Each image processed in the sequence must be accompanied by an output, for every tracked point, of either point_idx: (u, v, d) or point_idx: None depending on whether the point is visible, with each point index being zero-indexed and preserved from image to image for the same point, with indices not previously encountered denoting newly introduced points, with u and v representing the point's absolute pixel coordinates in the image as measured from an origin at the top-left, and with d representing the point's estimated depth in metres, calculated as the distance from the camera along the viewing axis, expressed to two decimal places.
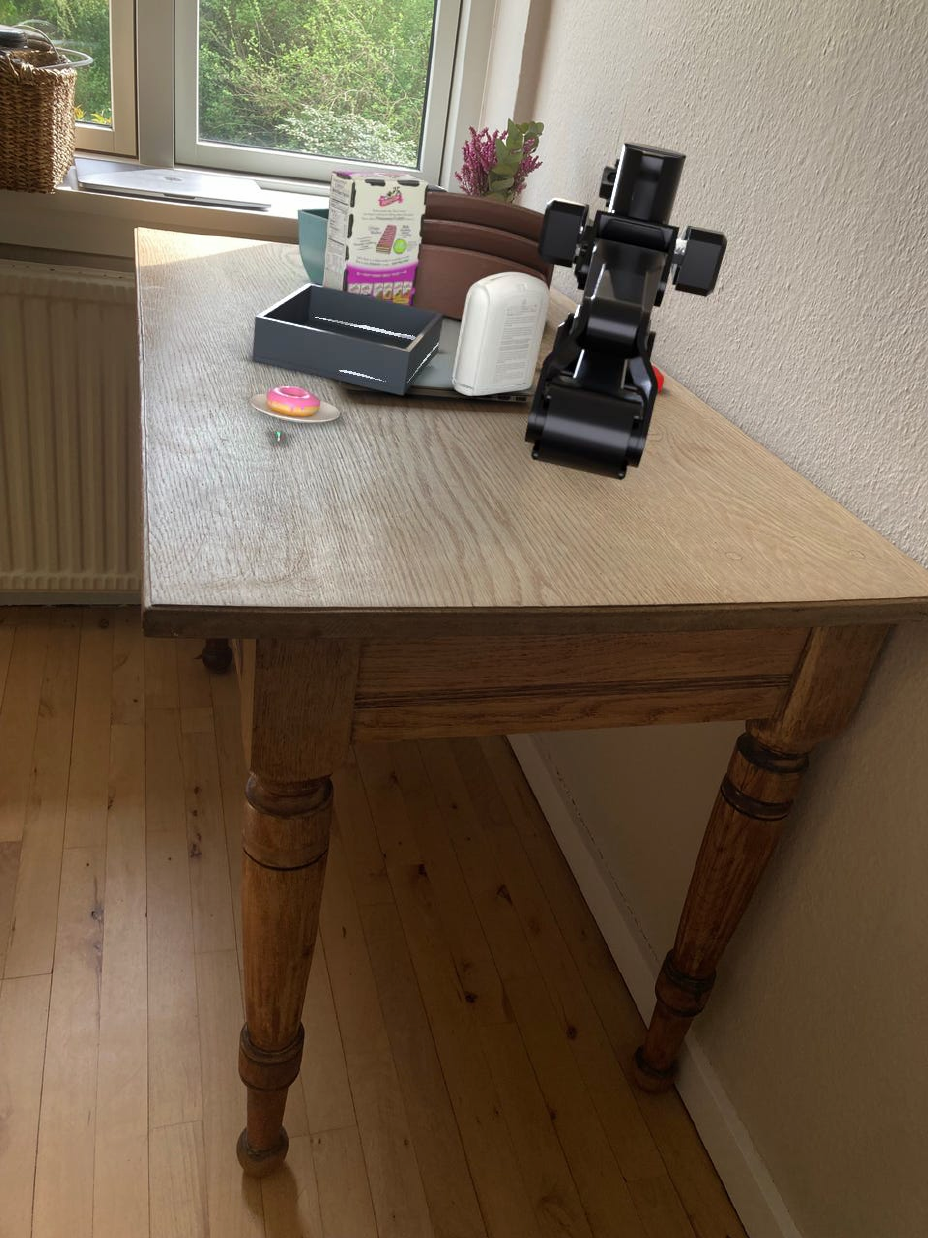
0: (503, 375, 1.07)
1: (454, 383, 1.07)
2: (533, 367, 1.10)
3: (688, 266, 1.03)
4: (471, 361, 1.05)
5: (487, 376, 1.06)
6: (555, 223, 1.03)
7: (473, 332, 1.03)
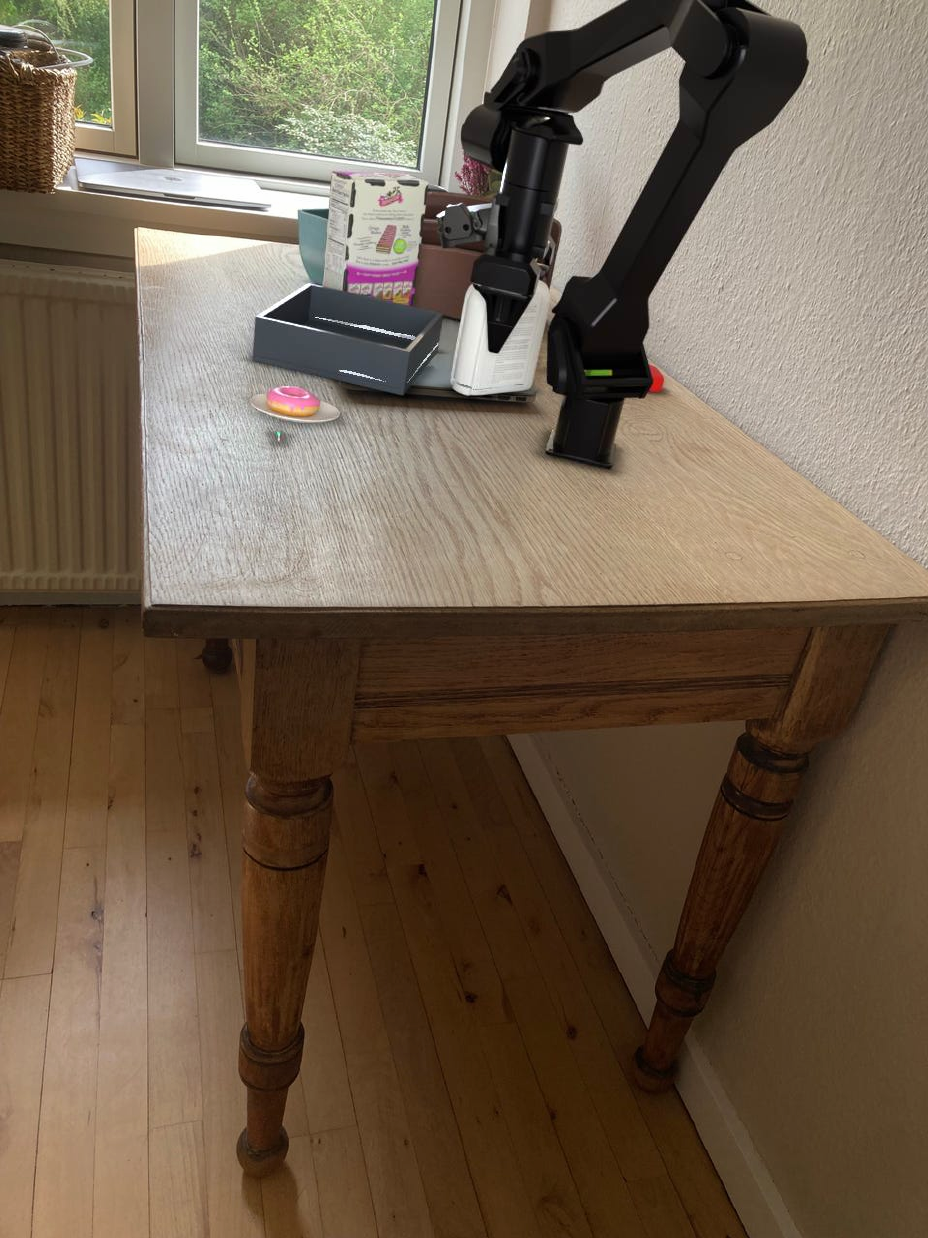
0: (502, 376, 1.07)
1: (453, 382, 1.07)
2: (533, 368, 1.10)
3: None
4: (468, 361, 1.05)
5: (484, 376, 1.06)
6: (497, 254, 0.96)
7: (471, 332, 1.03)
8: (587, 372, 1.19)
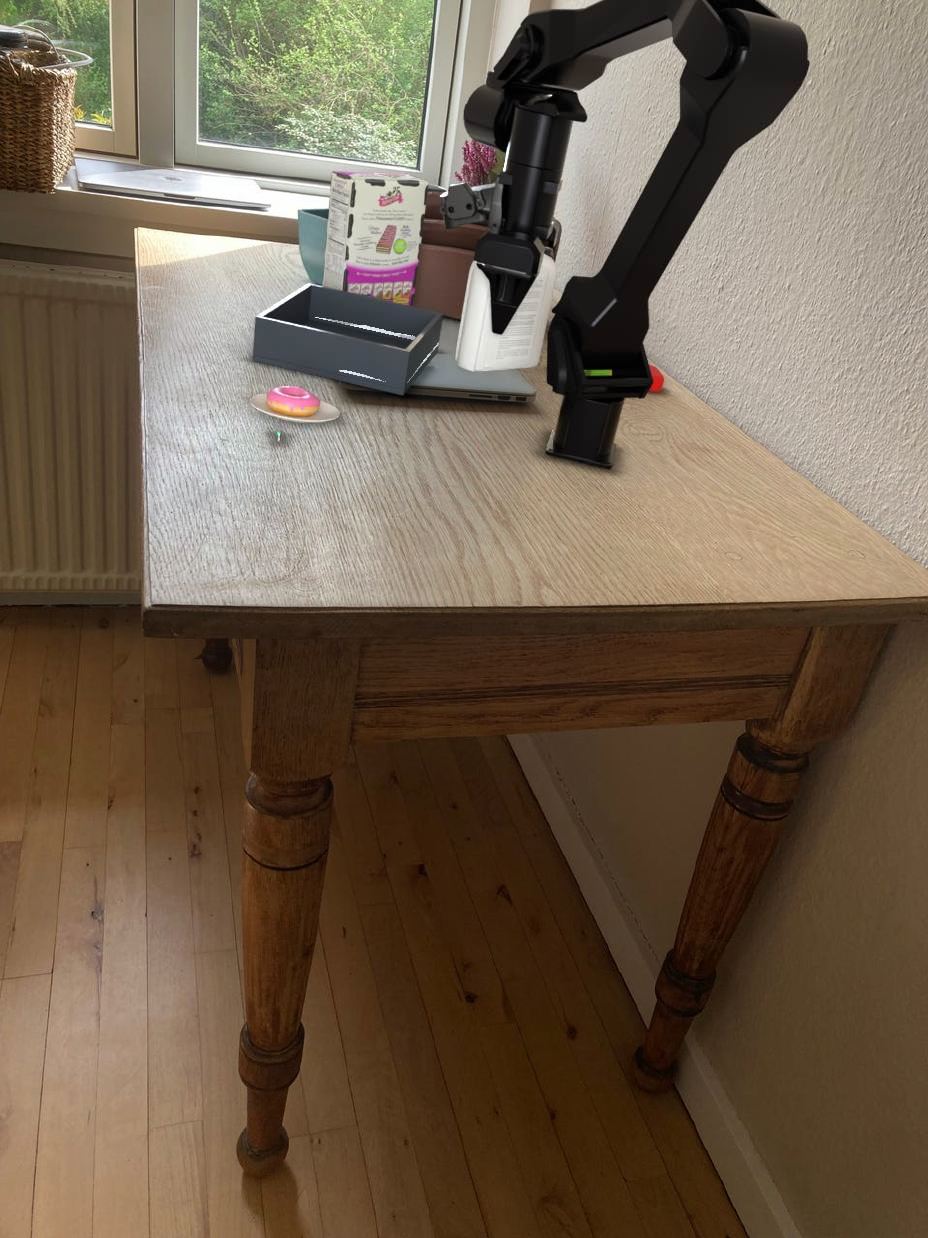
0: (507, 352, 1.06)
1: (457, 358, 1.06)
2: (539, 344, 1.09)
3: None
4: (473, 336, 1.03)
5: (489, 352, 1.04)
6: (501, 233, 0.95)
7: (476, 306, 1.02)
8: (587, 372, 1.19)
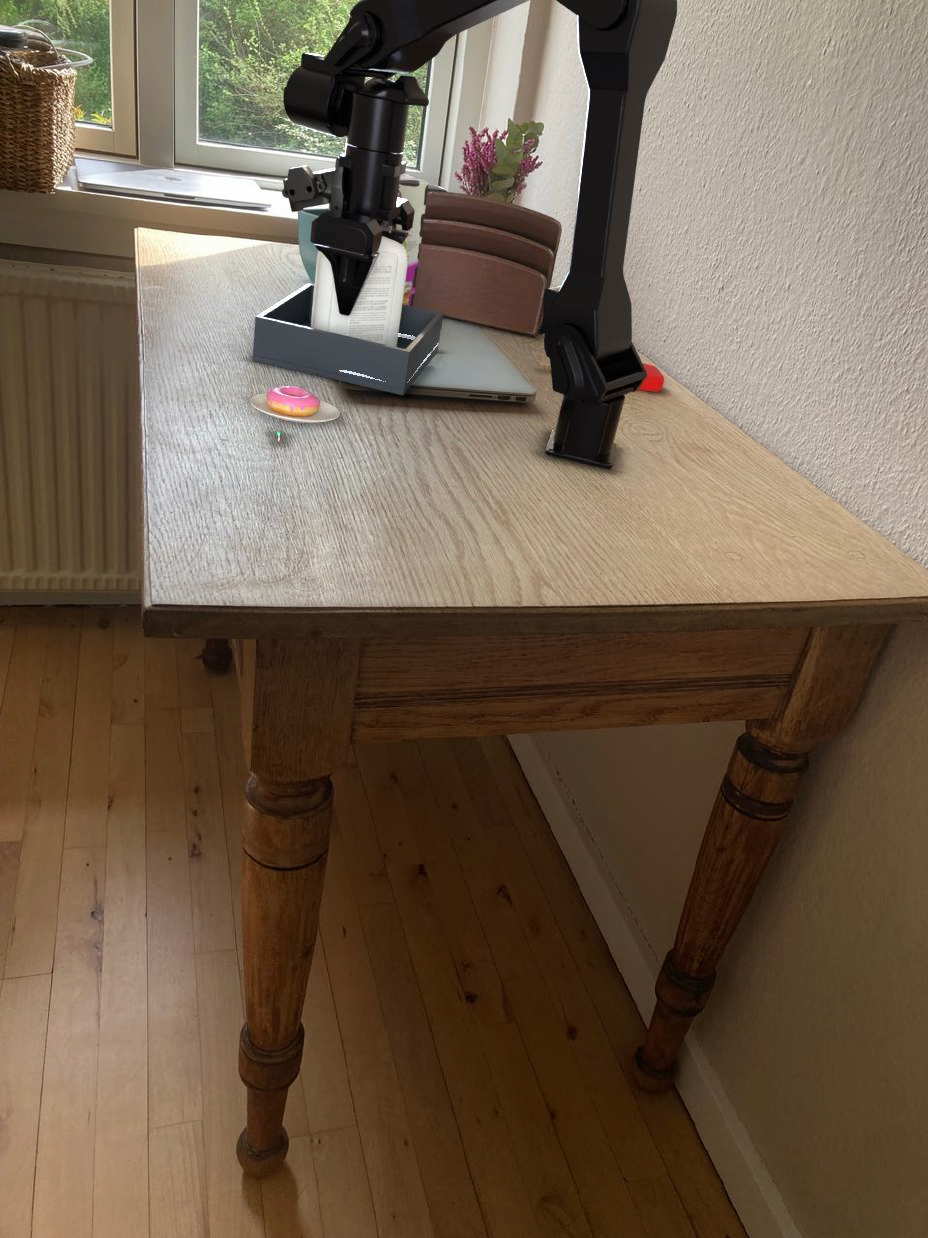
0: (359, 337, 1.08)
1: None
2: (395, 330, 1.11)
3: None
4: (322, 321, 1.06)
5: None
6: (335, 214, 0.97)
7: (323, 291, 1.04)
8: None
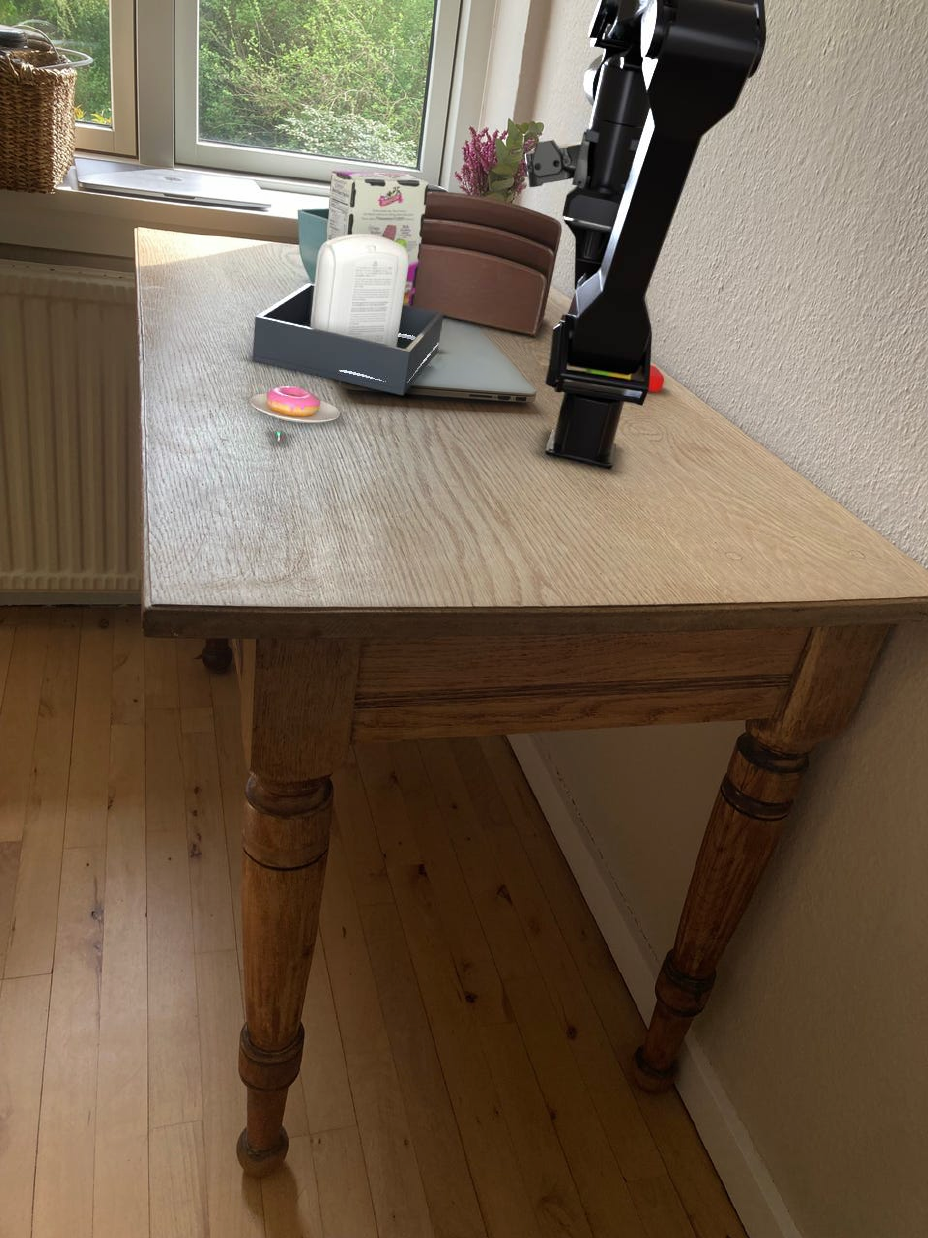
0: (359, 338, 1.08)
1: None
2: (395, 331, 1.11)
3: None
4: (322, 321, 1.06)
5: None
6: (590, 188, 0.96)
7: (322, 292, 1.04)
8: None
